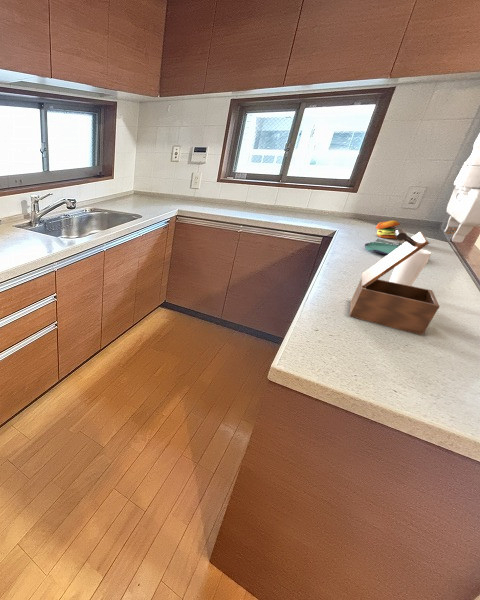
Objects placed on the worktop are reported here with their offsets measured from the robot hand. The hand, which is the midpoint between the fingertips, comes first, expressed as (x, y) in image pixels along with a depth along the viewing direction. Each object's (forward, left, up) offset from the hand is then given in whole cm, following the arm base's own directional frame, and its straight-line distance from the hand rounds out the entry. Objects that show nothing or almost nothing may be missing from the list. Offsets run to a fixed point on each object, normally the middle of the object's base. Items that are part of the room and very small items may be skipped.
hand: (452, 237), depth 81 cm
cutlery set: (-1, -86, -25) cm, 89 cm away
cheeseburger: (0, -117, -25) cm, 119 cm away
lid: (+9, +1, -8) cm, 12 cm away
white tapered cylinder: (+1, -24, -25) cm, 34 cm away
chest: (+5, +1, -25) cm, 25 cm away
